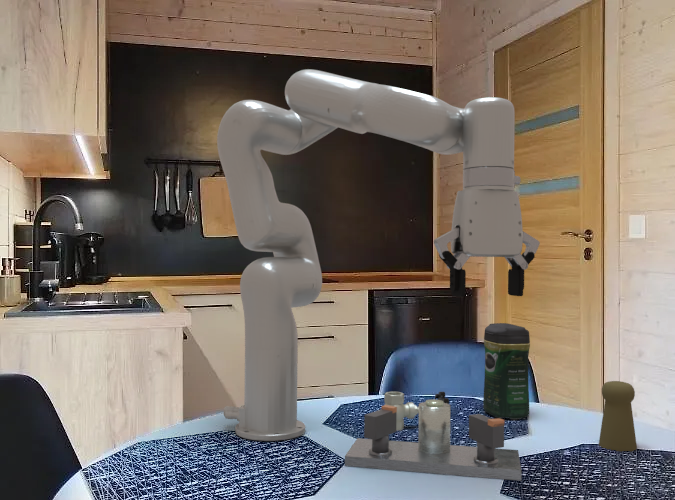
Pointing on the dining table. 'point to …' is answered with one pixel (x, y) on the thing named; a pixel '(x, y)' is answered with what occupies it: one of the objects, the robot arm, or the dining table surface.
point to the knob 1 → (380, 427)
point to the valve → (406, 406)
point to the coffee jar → (506, 371)
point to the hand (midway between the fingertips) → (487, 295)
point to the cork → (618, 417)
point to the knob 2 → (486, 435)
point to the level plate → (435, 460)
